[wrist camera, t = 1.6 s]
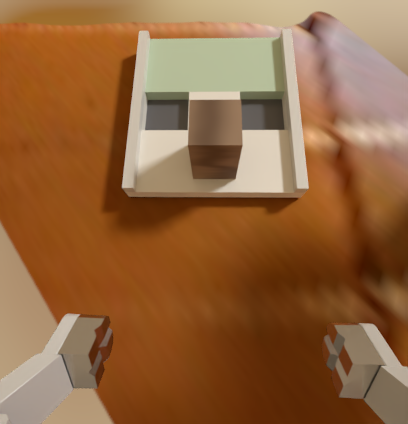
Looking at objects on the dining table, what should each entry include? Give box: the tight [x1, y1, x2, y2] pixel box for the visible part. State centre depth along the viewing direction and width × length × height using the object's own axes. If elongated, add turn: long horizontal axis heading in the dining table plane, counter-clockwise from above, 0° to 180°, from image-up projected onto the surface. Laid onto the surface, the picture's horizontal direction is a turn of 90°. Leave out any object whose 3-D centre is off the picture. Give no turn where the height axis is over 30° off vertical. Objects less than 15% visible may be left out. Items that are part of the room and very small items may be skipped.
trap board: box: [122, 29, 309, 198], centre depth 42 cm, size 25×28×4 cm
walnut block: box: [188, 100, 243, 179], centre depth 35 cm, size 6×6×9 cm
